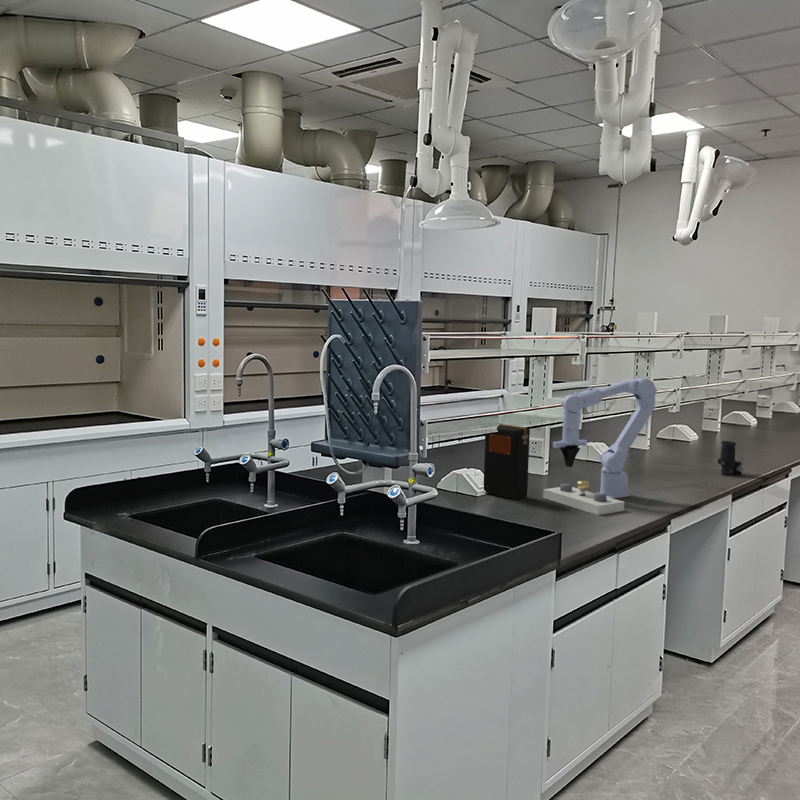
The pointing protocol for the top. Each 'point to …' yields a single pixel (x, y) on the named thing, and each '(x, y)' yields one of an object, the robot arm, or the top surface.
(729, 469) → the scope
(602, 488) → the robot arm
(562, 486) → the knob
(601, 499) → the knob
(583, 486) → the pot knob
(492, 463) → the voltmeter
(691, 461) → the top surface
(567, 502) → the mount plate
